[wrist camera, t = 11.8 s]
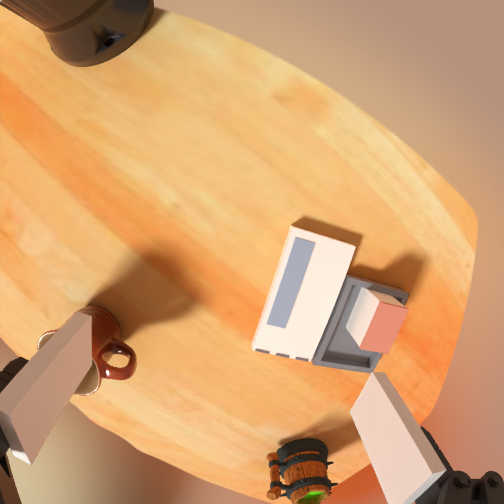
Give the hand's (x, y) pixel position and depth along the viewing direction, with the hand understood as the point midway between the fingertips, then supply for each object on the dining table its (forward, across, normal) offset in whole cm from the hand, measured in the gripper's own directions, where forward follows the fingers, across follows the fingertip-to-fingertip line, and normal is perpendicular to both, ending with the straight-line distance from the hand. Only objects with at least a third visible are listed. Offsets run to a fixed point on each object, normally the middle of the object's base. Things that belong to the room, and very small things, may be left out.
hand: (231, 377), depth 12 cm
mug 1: (+24, -14, -15) cm, 32 cm away
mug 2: (+23, +18, -34) cm, 44 cm away
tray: (+23, +18, -7) cm, 30 cm away
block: (+23, +19, -4) cm, 30 cm away
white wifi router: (+24, +9, -4) cm, 26 cm away
